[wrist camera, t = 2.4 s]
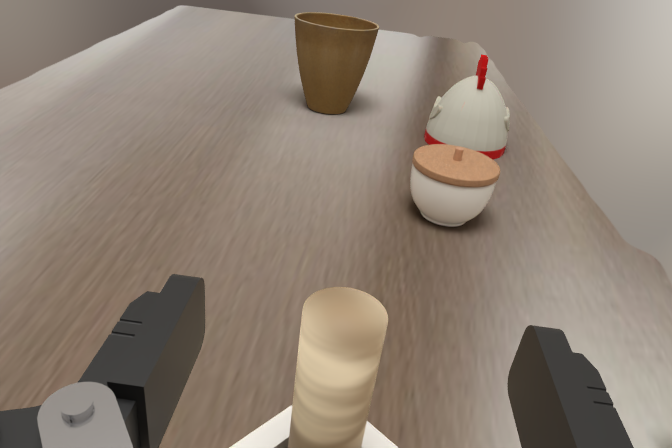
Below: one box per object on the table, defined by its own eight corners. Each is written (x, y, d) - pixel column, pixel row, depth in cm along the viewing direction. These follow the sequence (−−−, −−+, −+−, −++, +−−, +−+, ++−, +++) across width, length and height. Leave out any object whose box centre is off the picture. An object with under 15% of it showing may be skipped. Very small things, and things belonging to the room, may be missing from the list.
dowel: (316, 538, 32) (346, 357, 25) (269, 487, 35) (284, 308, 27) (364, 493, 35) (405, 318, 28) (318, 449, 38) (344, 277, 30)
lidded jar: (388, 215, 68) (401, 147, 63) (422, 188, 76) (436, 125, 72) (467, 246, 64) (488, 175, 59) (495, 214, 72) (514, 149, 67)
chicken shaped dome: (500, 137, 99) (523, 54, 91) (507, 166, 87) (535, 74, 80) (425, 124, 100) (442, 42, 93) (422, 151, 89) (442, 59, 81)
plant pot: (364, 126, 95) (377, 33, 87) (281, 114, 96) (287, 21, 88) (368, 101, 108) (380, 18, 100) (295, 91, 109) (301, 7, 101)
